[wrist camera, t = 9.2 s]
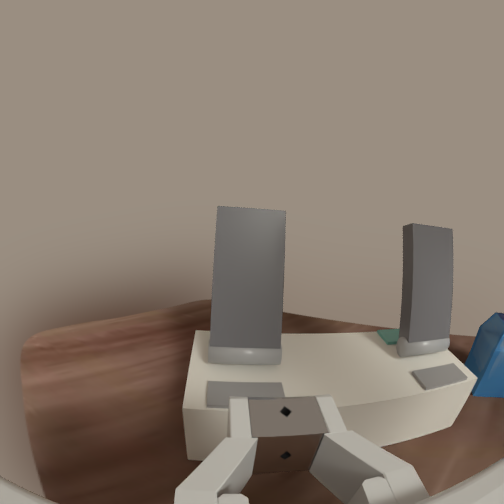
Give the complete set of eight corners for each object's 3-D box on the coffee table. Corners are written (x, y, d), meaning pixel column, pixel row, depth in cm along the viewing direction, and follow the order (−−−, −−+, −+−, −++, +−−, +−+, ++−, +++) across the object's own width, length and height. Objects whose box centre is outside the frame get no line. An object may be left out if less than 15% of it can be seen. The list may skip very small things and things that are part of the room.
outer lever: (276, 362, 22) (282, 216, 24) (281, 367, 20) (287, 210, 22) (208, 360, 22) (216, 212, 23) (207, 365, 20) (216, 205, 21)
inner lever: (436, 349, 24) (442, 231, 25) (448, 352, 22) (453, 229, 23) (395, 354, 23) (401, 226, 24) (406, 359, 21) (412, 222, 22)
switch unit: (408, 372, 30) (425, 325, 28) (451, 426, 20) (479, 375, 18) (196, 380, 27) (195, 327, 26) (187, 459, 18) (182, 404, 16)
